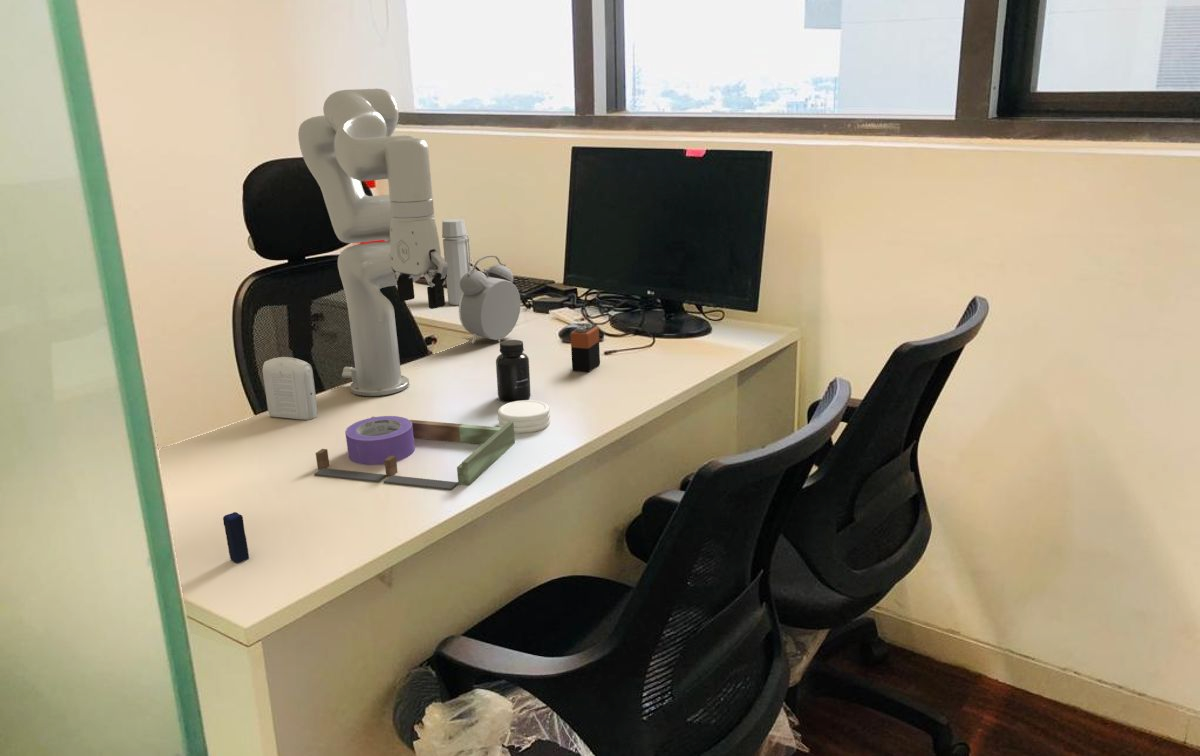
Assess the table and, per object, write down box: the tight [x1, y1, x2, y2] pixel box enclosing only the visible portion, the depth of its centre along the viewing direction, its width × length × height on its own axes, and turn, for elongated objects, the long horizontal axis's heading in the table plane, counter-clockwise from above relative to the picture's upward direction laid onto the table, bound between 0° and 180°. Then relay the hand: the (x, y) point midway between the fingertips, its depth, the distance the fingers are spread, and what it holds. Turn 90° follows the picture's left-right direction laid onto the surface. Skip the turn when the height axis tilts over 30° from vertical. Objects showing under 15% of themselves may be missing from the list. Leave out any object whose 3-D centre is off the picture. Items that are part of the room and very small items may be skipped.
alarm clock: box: [458, 255, 522, 344], centre depth 233 cm, size 16×9×22 cm, turn 144°
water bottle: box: [441, 218, 476, 307], centre depth 274 cm, size 9×8×25 cm
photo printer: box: [262, 356, 319, 421], centre depth 184 cm, size 10×4×12 cm, turn 72°
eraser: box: [222, 511, 250, 564], centre depth 129 cm, size 2×2×7 cm
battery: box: [570, 322, 601, 373], centre depth 209 cm, size 4×7×10 cm, turn 157°
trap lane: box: [315, 416, 516, 486], centre depth 163 cm, size 29×19×4 cm, turn 72°
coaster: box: [497, 399, 551, 434], centre depth 177 cm, size 10×10×4 cm
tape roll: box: [344, 415, 416, 466], centre depth 165 cm, size 12×12×5 cm
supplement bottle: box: [495, 339, 531, 403], centre depth 190 cm, size 7×7×12 cm
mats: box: [314, 467, 459, 491], centre depth 154 cm, size 26×2×1 cm, turn 72°
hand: (421, 303), depth 169 cm, fingers open, 9 cm apart
